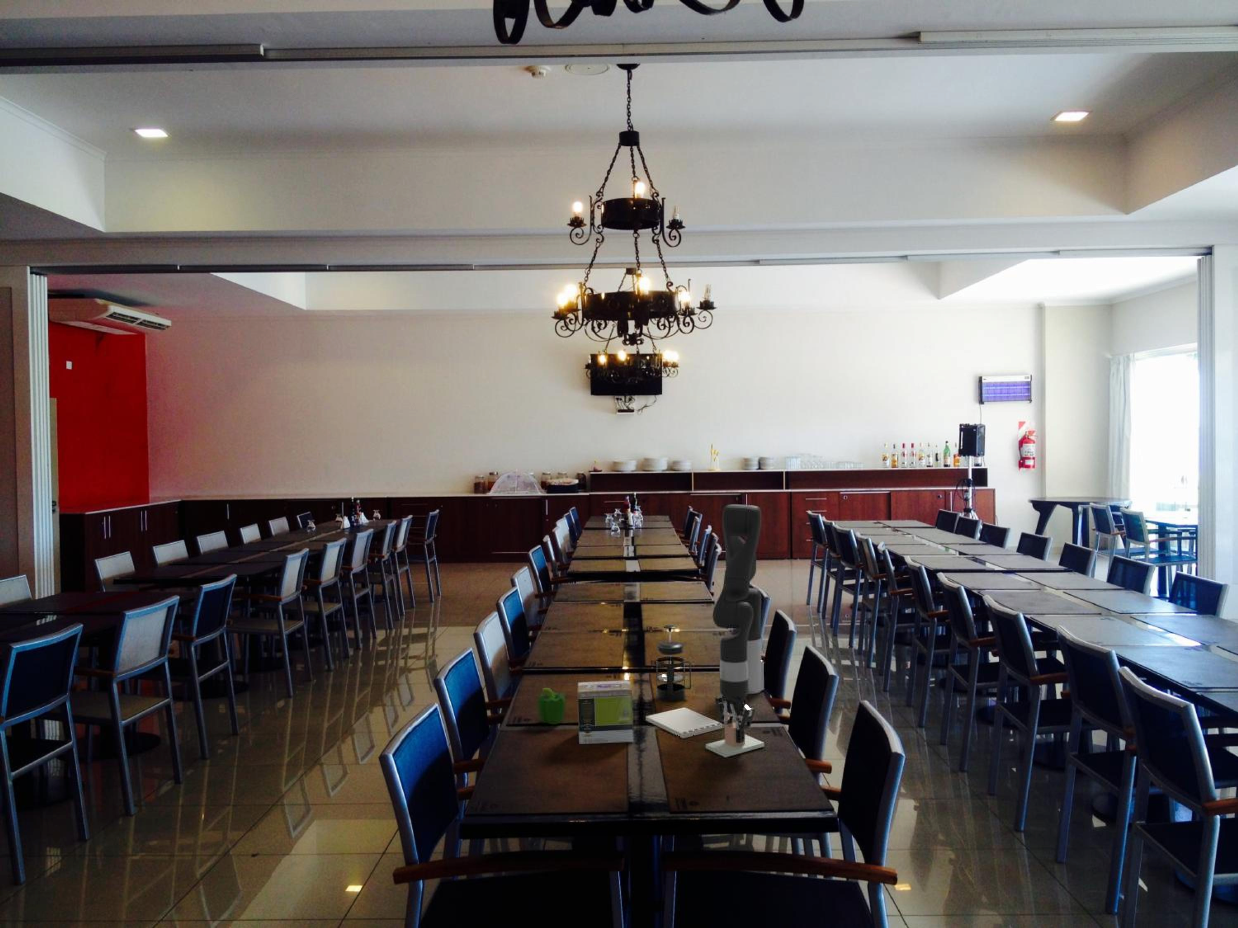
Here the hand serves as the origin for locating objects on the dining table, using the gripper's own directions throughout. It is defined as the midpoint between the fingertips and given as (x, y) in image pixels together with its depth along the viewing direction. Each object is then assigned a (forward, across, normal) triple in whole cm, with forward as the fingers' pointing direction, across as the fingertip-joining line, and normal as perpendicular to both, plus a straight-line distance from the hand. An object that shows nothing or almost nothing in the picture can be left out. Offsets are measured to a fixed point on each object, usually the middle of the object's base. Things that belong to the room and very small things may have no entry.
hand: (734, 739), depth 230 cm
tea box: (+2, +27, +24) cm, 36 cm away
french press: (+3, +45, -12) cm, 46 cm away
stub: (+2, 0, 0) cm, 2 cm away
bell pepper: (+2, +47, +30) cm, 56 cm away
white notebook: (+2, +23, 0) cm, 23 cm away
